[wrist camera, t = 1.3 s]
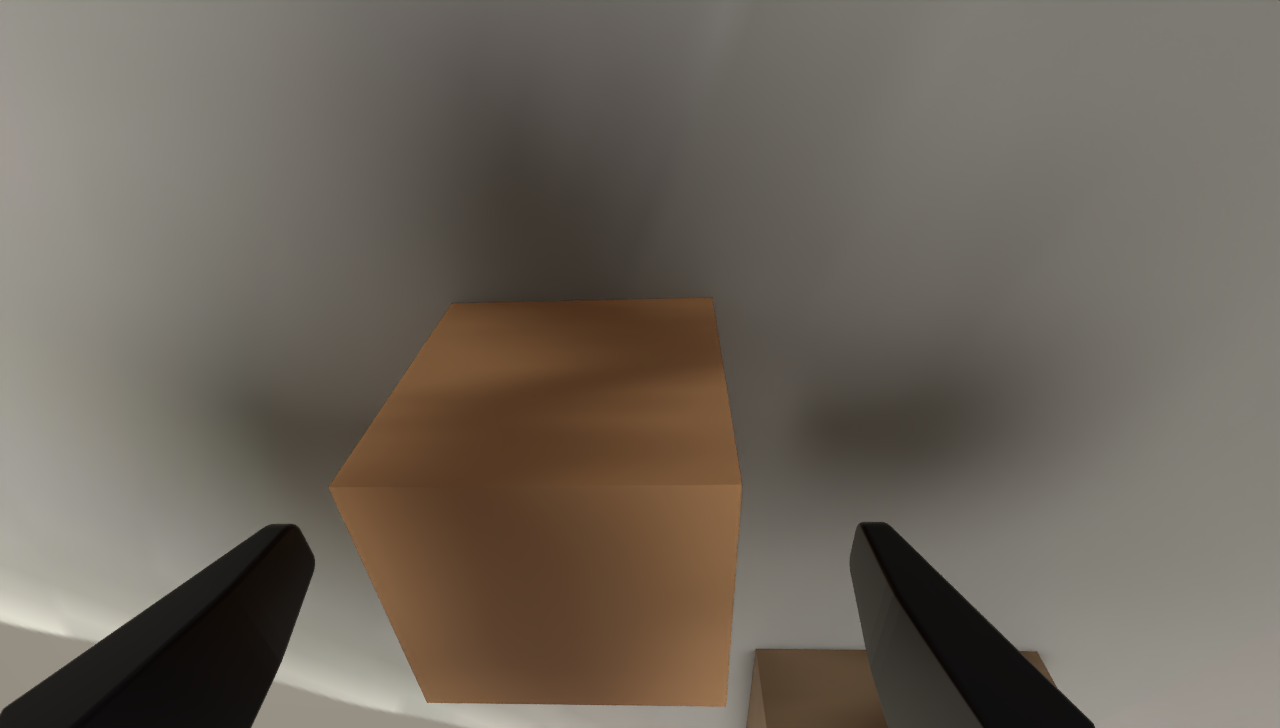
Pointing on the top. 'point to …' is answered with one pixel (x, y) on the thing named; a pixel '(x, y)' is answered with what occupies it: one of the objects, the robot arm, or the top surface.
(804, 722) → the tower base
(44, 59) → the top surface
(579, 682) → the orange cube
